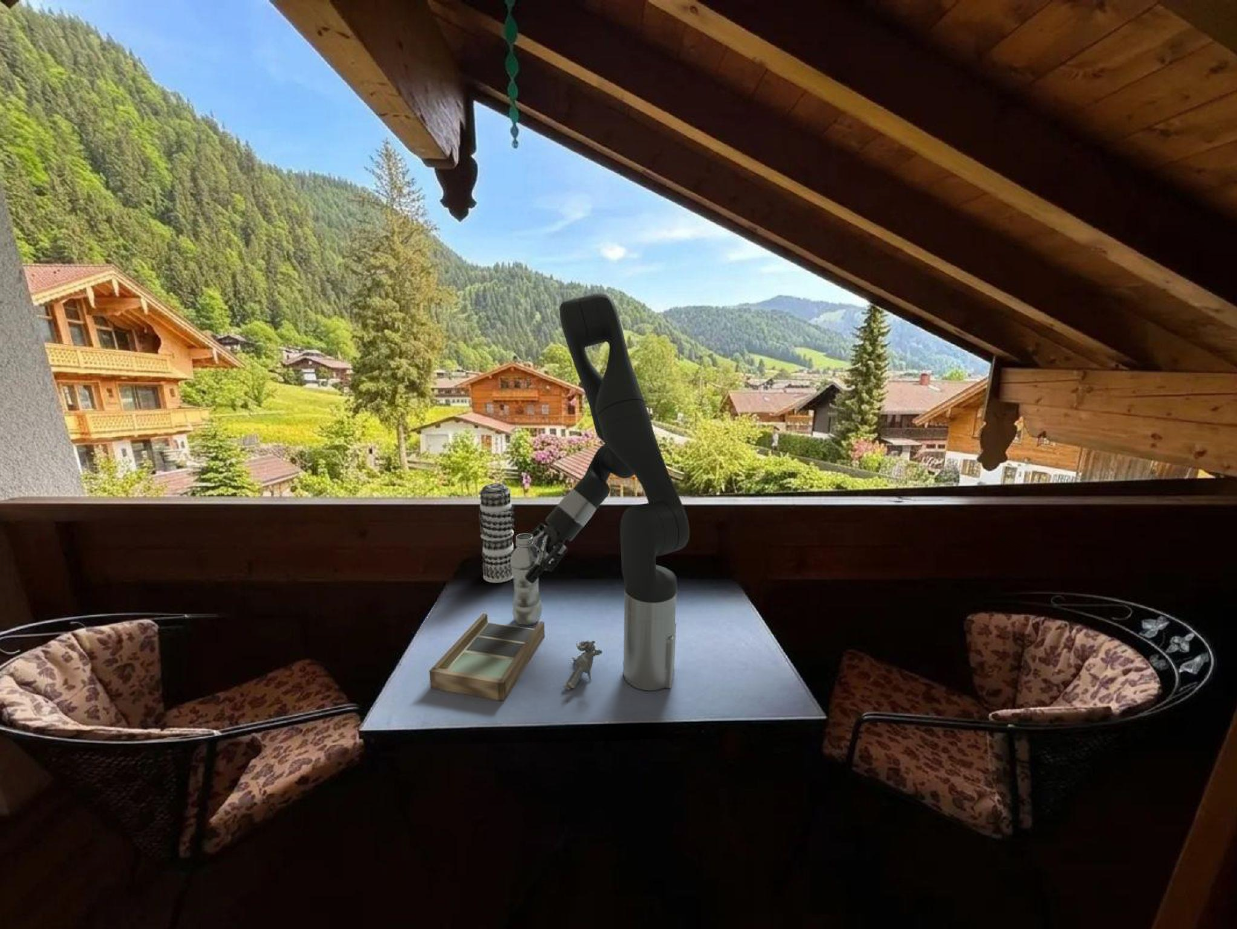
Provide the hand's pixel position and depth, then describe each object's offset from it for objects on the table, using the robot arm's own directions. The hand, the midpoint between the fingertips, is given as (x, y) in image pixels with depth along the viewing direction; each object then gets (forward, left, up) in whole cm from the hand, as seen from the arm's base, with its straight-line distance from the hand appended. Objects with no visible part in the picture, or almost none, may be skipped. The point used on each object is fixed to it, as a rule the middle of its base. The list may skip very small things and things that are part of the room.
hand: (522, 572), depth 100 cm
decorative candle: (+15, -19, -12) cm, 27 cm away
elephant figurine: (-18, +15, -12) cm, 27 cm away
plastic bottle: (-1, 0, -12) cm, 12 cm away
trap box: (0, +14, -12) cm, 18 cm away
